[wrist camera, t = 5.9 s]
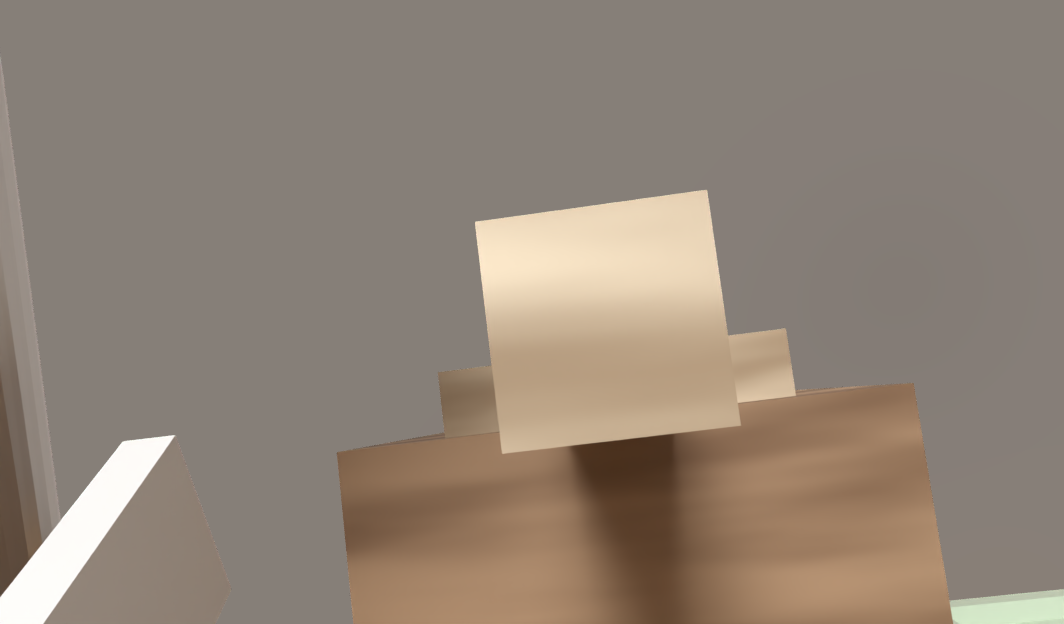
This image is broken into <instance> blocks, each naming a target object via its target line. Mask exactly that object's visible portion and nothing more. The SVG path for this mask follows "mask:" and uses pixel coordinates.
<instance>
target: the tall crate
mask: <svg viewBox="0 0 1064 624" xmlns="http://www.w3.org/2000/svg"><path fill="white" fill-rule="evenodd" d="M795 393H796V396H791V397H783V398H774V399H766V400H758V401H749V402H741V403H738V408H739V415H740V422H741V426H733V427H725V428H716V429H708V430H700V431H691V432H683V433H674V434H666V435H657V436H649V437H640V438H632V439H623V440H615V441H607V442H598V443H590V444H581V445H573V446H564V447H556V448H547V449H539V450H530V451H522V452H514V453H505V454H502V449H501V441H500V432H491V433H483V434H475V435H466V436H458V437H450V438H445V433H440V434H434V435H429V436H423V437H418V438H412V439H407V440H401V441H396V442H390V443H385V444H380V445H374V446H369V447H363V448H358V449H353V450H347V451H341V452H337V458H338V469H339V478H340V489H341V500H342V510H343V520H344V531H345V540H346V551H347V562H348V572H349V582H350V592H351V602H352V613H353V624H953V619H952V613H951V607H950V601H949V595H948V589H947V583H946V577H945V571H944V565H943V559H942V553H941V547H940V541H939V535H938V529H937V522H936V516H935V510H934V505H933V498H932V492H931V486H930V480H929V474H928V468H927V462H926V456H925V450H924V444H923V438H922V432H921V426H920V420H919V414H918V408H917V402H916V396H915V389H914V384H913V383H907V384H890V385H874V386H857V387H841V388H824V389H807V390H795Z"/></svg>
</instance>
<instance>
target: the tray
mask: <svg viewBox="0 0 1064 624" xmlns="http://www.w3.org/2000/svg"><path fill="white" fill-rule="evenodd" d="M950 607H951V613H952V619H953V624H1064V589H1061V590H1052V591H1042V592H1031V593H1021V594H1012V595H1002V596H993V597H982V598H972V599H963V600H953V601H950Z"/></svg>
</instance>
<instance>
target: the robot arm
mask: <svg viewBox="0 0 1064 624" xmlns="http://www.w3.org/2000/svg"><path fill="white" fill-rule="evenodd" d="M230 591H231V586H230V583H229V581H228V578H227V575H226V573H225V570H224V567H223V564H222V562H221V559H220V556H219V554H218V551H217V548H216V545H215V542H214V540H213V537H212V534H211V532H210V529H209V526H208V523H207V521H206V518H205V515H204V512H203V510H202V507H201V504H200V501H199V499H198V496H197V493H196V491H195V488H194V485H193V482H192V480H191V477H190V474H189V471H188V468H187V466H186V463H185V460H184V458H183V455H182V452H181V449H180V447H179V444H178V441H177V438H176V436H175V435H173V436H165V437H156V438H149V439H140V440H131V441H124V442H122V443H121V445H120V446H119V447H118V449H117V450H116V451H115V452H114V454H113V455H112V456H111V457H110V459H109V460H108V461H107V463H106V464H105V465H104V466H103V468H102V469H101V470H100V471H99V473H98V474H97V475H96V477H95V478H94V479H93V480H92V482H91V483H90V484H89V485H88V487H87V488H86V489H85V491H84V492H83V493H82V494H81V495H80V497H79V498H78V499H77V501H76V502H75V503H74V504H73V506H72V507H71V508H70V510H69V511H68V512H67V513H66V515H65V516H64V517H63V518H62V520H61V519H60V511H59V503H58V495H57V488H56V480H55V472H54V464H53V456H52V449H51V441H50V433H49V426H48V418H47V410H46V403H45V395H44V387H43V379H42V372H41V364H40V356H39V348H38V341H37V333H36V326H35V317H34V310H33V302H32V294H31V287H30V279H29V272H28V264H27V256H26V248H25V240H24V232H23V225H22V218H21V209H20V201H19V194H18V186H17V179H16V171H15V163H14V155H13V147H12V141H11V133H10V124H9V116H8V109H7V101H6V93H5V86H4V78H3V70H2V62H1V55H0V624H216V621H217V619H218V617H219V615H220V613H221V610H222V608H223V606H224V604H225V602H226V600H227V598H228V596H229V593H230Z"/></svg>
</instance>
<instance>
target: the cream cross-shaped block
mask: <svg viewBox="0 0 1064 624" xmlns="http://www.w3.org/2000/svg"><path fill="white" fill-rule="evenodd" d="M475 225H476V234H477V243H478V251H479V259H480V268H481V277H482V285H483V293H484V303H485V311H486V320H487V329H488V337H489V345H490V354H491V362H492V366H485V367H477V368H469V369H461V370H453V371H445V372H438V376H439V386H440V395H441V405H442V413H443V422H444V432H445V438H450V437H458V436H466V435H475V434H483V433H491V432H500V441H501V449H502V454H505V453H514V452H522V451H530V450H539V449H547V448H556V447H564V446H573V445H581V444H590V443H598V442H607V441H615V440H623V439H632V438H640V437H649V436H657V435H666V434H674V433H683V432H691V431H700V430H708V429H716V428H725V427H733V426H741V422H740V415H739V408H738V403H741V402H749V401H758V400H766V399H774V398H783V397H791V396H796V393H795V386H794V380H793V373H792V367H791V360H790V353H789V348H788V340H787V334H786V329H779V330H770V331H764V332H755V333H747V334H739V335H731V336H728V333H727V325H726V319H725V312H724V305H723V297H722V290H721V284H720V277H719V270H718V263H717V256H716V250H715V243H714V235H713V228H712V221H711V214H710V208H709V201H708V194H707V190H703V191H695V192H688V193H680V194H673V195H666V196H659V197H652V198H645V199H637V200H630V201H624V202H616V203H608V204H602V205H594V206H587V207H579V208H573V209H565V210H559V211H551V212H543V213H537V214H530V215H523V216H515V217H507V218H500V219H493V220H486V221H479V222H475Z"/></svg>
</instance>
